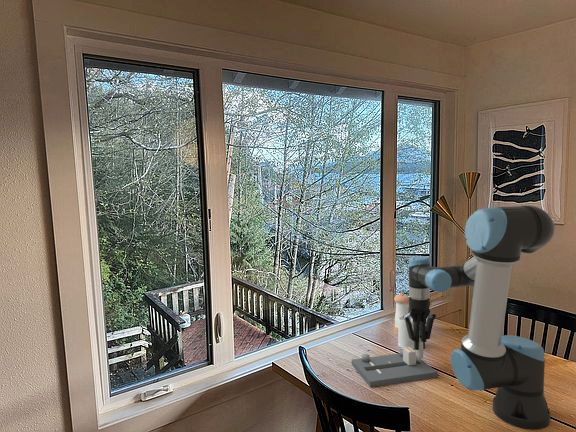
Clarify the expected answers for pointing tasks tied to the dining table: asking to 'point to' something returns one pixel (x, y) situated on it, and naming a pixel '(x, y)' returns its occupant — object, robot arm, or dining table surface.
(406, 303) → the pepper shaker
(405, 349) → the fader tab
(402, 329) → the mug
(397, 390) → the dining table surface
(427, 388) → the dining table surface
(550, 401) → the dining table surface
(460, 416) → the dining table surface
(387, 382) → the console board
